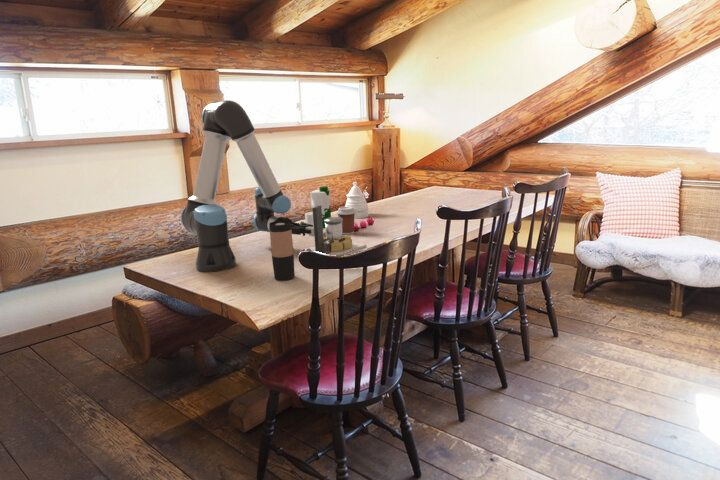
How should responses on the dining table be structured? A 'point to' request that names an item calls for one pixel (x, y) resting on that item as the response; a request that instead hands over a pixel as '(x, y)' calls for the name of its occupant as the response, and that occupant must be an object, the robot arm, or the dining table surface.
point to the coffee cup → (347, 219)
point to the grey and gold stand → (321, 241)
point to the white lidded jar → (333, 229)
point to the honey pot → (357, 202)
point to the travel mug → (282, 250)
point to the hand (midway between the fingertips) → (318, 232)
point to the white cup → (309, 218)
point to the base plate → (354, 246)
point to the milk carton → (322, 201)
